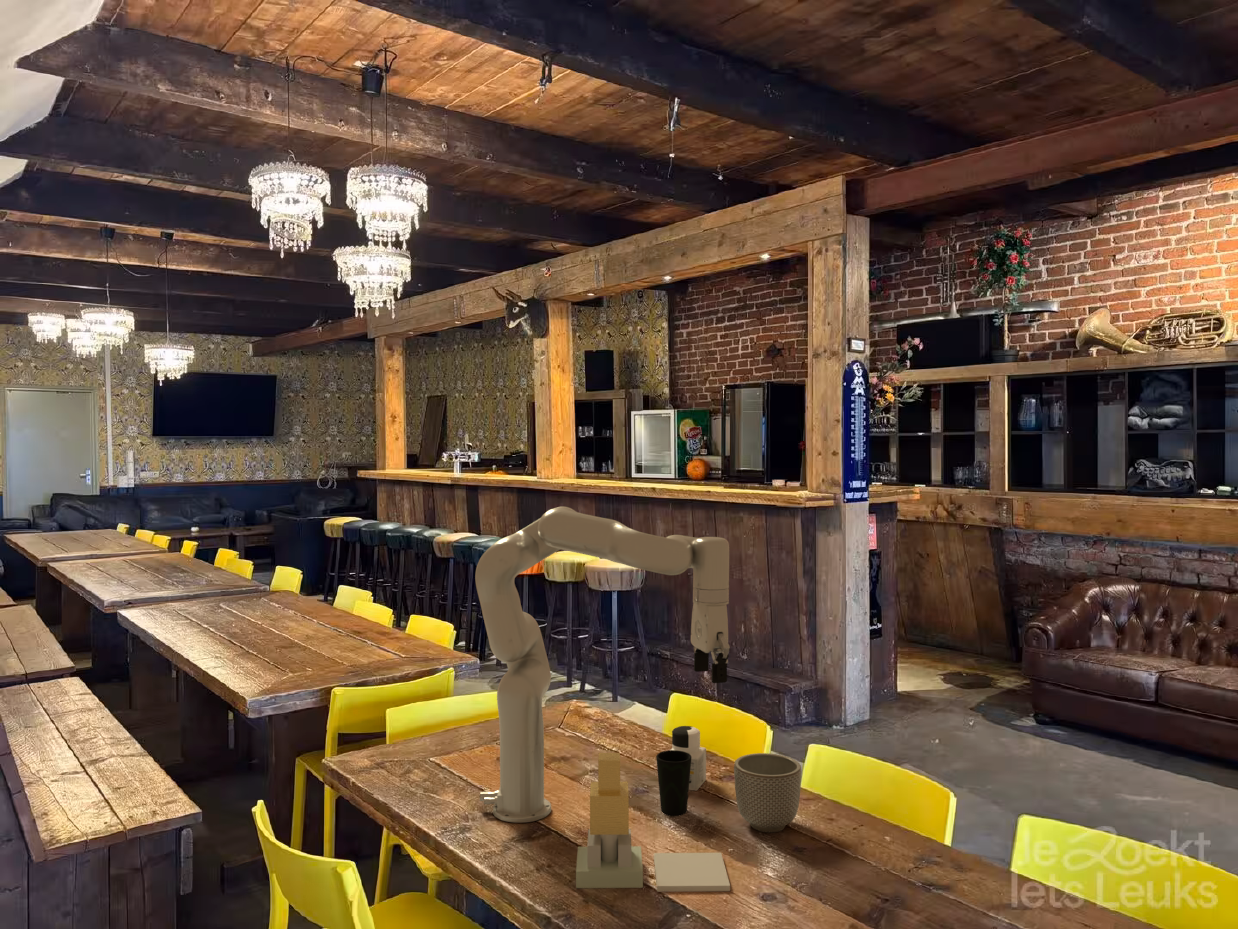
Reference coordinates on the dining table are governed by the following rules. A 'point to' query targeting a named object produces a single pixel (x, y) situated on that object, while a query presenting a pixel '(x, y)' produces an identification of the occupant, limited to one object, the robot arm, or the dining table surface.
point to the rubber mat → (690, 872)
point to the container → (691, 753)
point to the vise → (609, 863)
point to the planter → (767, 790)
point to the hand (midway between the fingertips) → (710, 676)
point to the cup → (673, 781)
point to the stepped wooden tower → (609, 798)
